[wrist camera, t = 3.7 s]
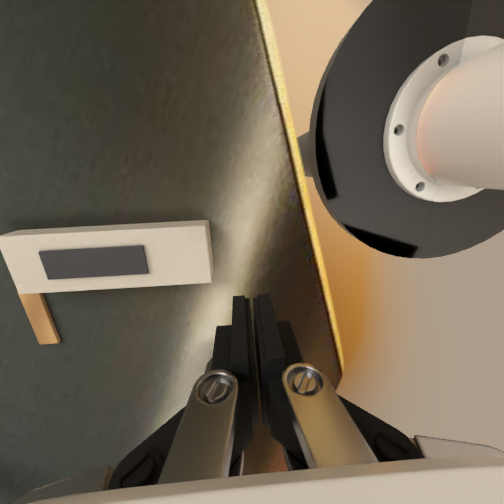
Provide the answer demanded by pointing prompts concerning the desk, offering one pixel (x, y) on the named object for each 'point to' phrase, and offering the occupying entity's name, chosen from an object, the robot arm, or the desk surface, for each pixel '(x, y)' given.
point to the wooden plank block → (40, 318)
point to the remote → (109, 256)
